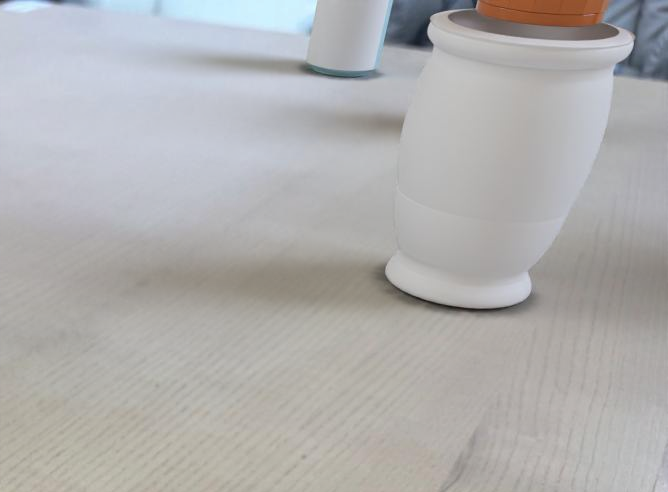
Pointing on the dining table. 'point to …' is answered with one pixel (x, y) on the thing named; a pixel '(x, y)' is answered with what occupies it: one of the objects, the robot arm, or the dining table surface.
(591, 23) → the cup
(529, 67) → the jar
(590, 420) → the dining table surface
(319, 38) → the can
